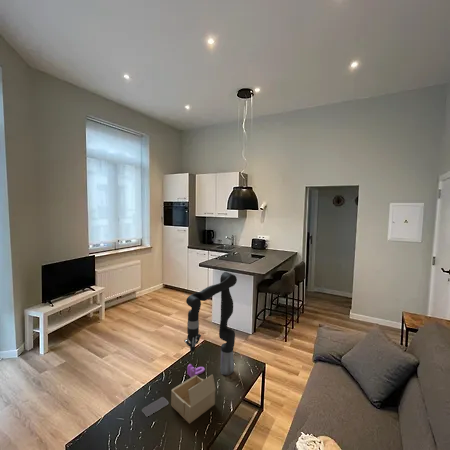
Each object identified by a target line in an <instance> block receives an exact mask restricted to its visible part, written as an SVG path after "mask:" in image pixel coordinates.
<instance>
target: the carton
mask: <svg viewBox="0 0 450 450" xmlns="http://www.w3.org/2000/svg"><path fill="white" fill-rule="evenodd" d="M204 379H205V378H201V377H199V375H195V376H193V377H189V378H188V379H187V380H185V381H183V382H181V383H180V384H179V385H177V386H175V387H173V388H172V389H171V391H170V392H171V394H170V395H171V397H170V398H171V399H170V401H171V402H170V404H171V405H170V406H171V407H172V408H173V409H174V410H175V411H176V412H177V413H178V414H179V415H180V416H181V417H182V418H183V419H184V420H185V421H186V422H187V423H188V424H189V425H190V424H191V423H192V422H195V420H197V419H198V418H199V417H200V416H201V415H203V414H204V413H206V412H207V411H208V410H210V409H211V408H213V407H214V406H215V404H216V390H215V391H214V392H212V393H211V394H210V395H208V396H207V397H205V398H204V399H203V400H201V401H200V402H198V403H197V404H196V405H194V406H193V407H191V403H190V398H189V392H188V390H189V389H190V388H192V387H193V386H195V385H197V384H198V383H200V382H201V381H203V380H204Z"/></svg>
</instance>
